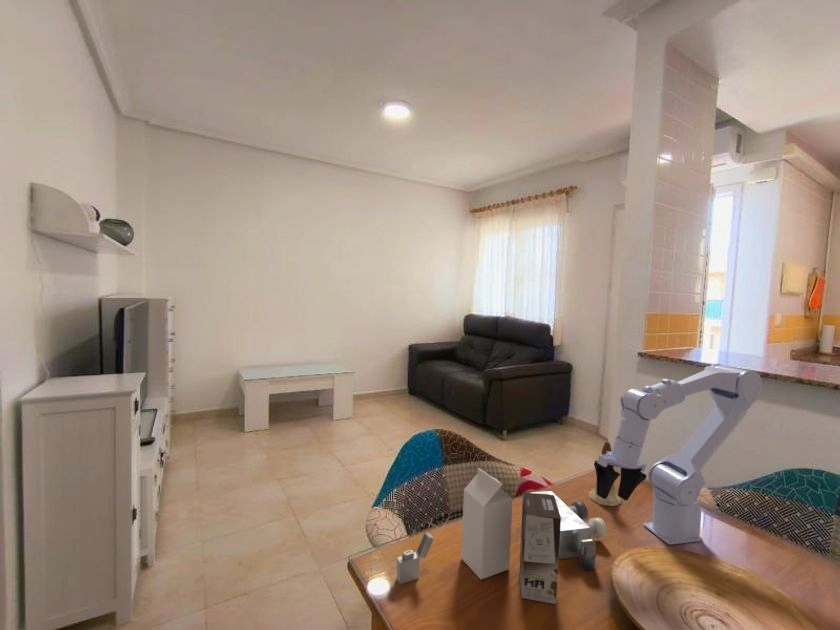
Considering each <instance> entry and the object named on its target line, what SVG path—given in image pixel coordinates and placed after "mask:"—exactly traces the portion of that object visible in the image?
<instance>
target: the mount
mask: <svg viewBox="0 0 840 630" xmlns="http://www.w3.org/2000/svg"><path fill="white" fill-rule="evenodd" d="M531 493H540V494H549V495H554V497H555V500H556V503H557V507H558V510H559V513H560V516H561V527H560V544H559V559H560V560H562V559H570V558H577V557H579V558H580V542H581V539H591V534H590V527H589V526H588V525H587V524H586V523H587V522H585V520H582V519H581V518H579V517H578V516H577V515H576V514H575V513H574V512H573V511H572V510H571V509H570V508H569V506H568V505H567V504H565V502H564V501H562V499H561V498H560V497H558V496H557V495H556V494H555V493H554V492H553V491H552V490H549V491H548V490H547V491H546V490H545V491H535V492H531Z"/></svg>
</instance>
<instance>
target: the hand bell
mask: <svg viewBox="0 0 840 630" xmlns="http://www.w3.org/2000/svg"><path fill="white" fill-rule="evenodd" d="M611 450H612V446H611V442H610V441H604V444H603V445H602V448H601V455H605V454H606V453H607V452H611ZM587 495H588V496H587V497H588V498H589V499H590V500H591V501H592V502H594V503H596V504H598V505H601V506H606V507H617V506H619V505H621V504H622V501H621V497H619V496H618V493H617V492H616V488H615V482H614V483H613V485H612V487H611V489H610V492H609V494H608V496H607V498H606V499H603V498H601V497H600V496H598V495H597V478H596V480H595V485H594V486H593V488H592V490H591V491H589V492H588V494H587Z"/></svg>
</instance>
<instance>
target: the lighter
mask: <svg viewBox="0 0 840 630" xmlns="http://www.w3.org/2000/svg"><path fill="white" fill-rule="evenodd" d="M433 541H434V536H433V535H432V534H431V533H429V532H426V531H425V532H424V533H423V535H422V538H421V539H420V543H419V545H418V547H417V549H416V551H415V552H414V551H413V549H409V550H406V551H403V553H402V555H399V556H397V557H396V581H397V582H398V584H399V585H402V584H406V583H409V582H412V581H416V580H419V578H420V558H422V559H426V558H427V556H428V553H429V551H430V549H431V546H432V543H433Z"/></svg>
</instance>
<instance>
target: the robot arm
mask: <svg viewBox="0 0 840 630" xmlns="http://www.w3.org/2000/svg"><path fill="white" fill-rule="evenodd" d="M704 391H705V392H706V391H709V393H710V396H711V398H712V400H713V401H714V402H715V405H716V406H715V407H714V408H713V409H712V411H710V413H709V415H707V417H706V418H705V419H704V421H702V423H701V424H700V425H699V426H698V427H697V429H696V430H695V432H694V433H693V434H692V435H691V437H690V438H689V439H688V440H687V441H686V443H685V444H683V446H682V447H681V449H680V450H679V451H678V452H677V453H676V454H672V455H671V454H669V455H665V456H663V457H662V458H661V460H659V461H658V462H655V463H654V464H652V465H651V466H650V468H649V470H648V472H647V474H645V473H644V472H646V471H645V470H646V467H647V463H645V462H643V461H642V460H640V457H641V453H642V450H643V446H644V443H645V441H646V437H647V434H648V431H649V426H650V424H651V420H655V419H656V418H658V416H659V415H660V414H661V412H663V411H664V410H666V409H668V408H672V407H675V406H677V405H680V404H682V403H684V402H685V400H686V396H691V395H693V394H696V393H701V392H704ZM763 392H764V391H763V381H762V377H761V376H760V374H759V373H758V372H757V371H754V370H748V369H747V370H746V369H743V368H738V367H732V366H728V365H723V364H720V363H714V364H712V365H709V366H705V367H704V369H703V370H702V371H700V372H697V373H695V374H693V375H690V376H687V377H686V378H683V379H681V380H679V381H676V380H675V379H674V380H673V379H668V378H663V379H661V380H660V382H658V383H655V384H653V385H646V386H643V388H641V389H638V388H631V389H629V390H627V391H626V392H625V393H624V394H623V396H620V398H619V399H620V400H619V401H620V406H621V411H620V415H621V417H620V420H619V421H620V422H619V424H618V427H617V429H616V430H617V431H616V433H615V436H614V439H613V440H614V441H613V445H612V446H611V452H607V453H606V454H605V455H602V454H599V455H598V458H597V460H595V461H594V462H593V466H594V469H595V474H596V479H597V495H598V496H600V497H601V498H603V499H606V498H607V496H608V494H609V492H610V489H611V487H612V485H613V483H614V484H615V482H616V480H617V479H618V477H620V479H619V480H620V481H619V486H618V490H617V491H618V492H617V496H618V497H619V498H620V499H622V500H624V501H628V500H629V499H630V497H631V496H632V494H633V493H634V492H635V490H636V488H637V487H639V485H640V484H641V483H642V482H643V481H645V480H646V479H647V478H648V479H647V480H648V482H649V483H650V484H651V486H652V491H653V492H654V495H653V496H654V497H653V511H652V521H651V522H644V523H643V527H645V528H647V530H649V531H651V532H652V533H653V534H655V535H656V536H657V537H658V538H660V539H661V540H662V541H663V542H665V543H666V544H668V545H679V544H687V543H694V542H702V541H703V537H701V536H700V535H701V522H702V510H701V507H700V504H699V503H698V501H697V500H698V499H699V497H700V496H701V495H700V494H701V491H702V489H703V488H704V486H705V485H706V480H705V478H704V475H703V474H702V469H703V468H704V467H705V465H706V464H707V463H708V462H709V461H710V459H711V458H712V457H713V455H714V454H715V453H716V452H717V451H718V450H719V448H720V447H721V446H722V445H723V443H724V442H725V441H726V440H727V438H728V437H729V436H730V435H731V433H732V432H734V430H735V429H736V428H737V426H738V425H739V424H740V423H741V421H742V420H743V419H744V418H745V416H746V414H747V412H748V410H749V409H750V408H751V407H752V406H753V404H754V403H755V402H756V401H757V400H758V399H759V397H760V396H761V395H762V393H763ZM615 468H620V473H619V471H616V470H615Z"/></svg>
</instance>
